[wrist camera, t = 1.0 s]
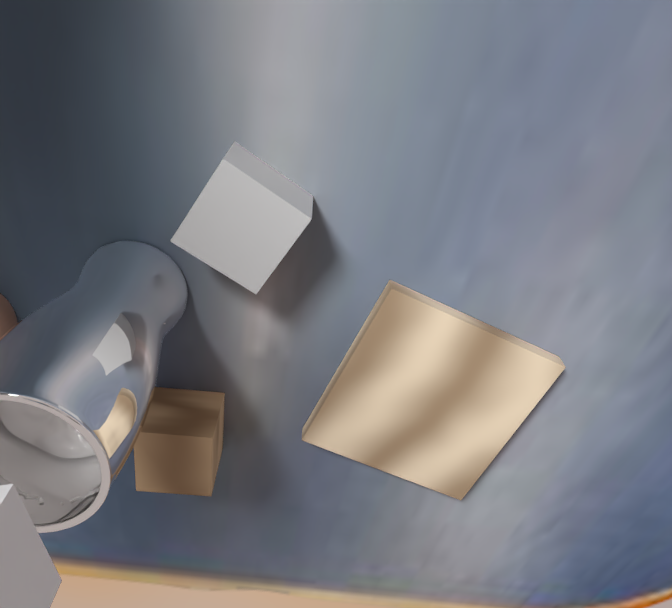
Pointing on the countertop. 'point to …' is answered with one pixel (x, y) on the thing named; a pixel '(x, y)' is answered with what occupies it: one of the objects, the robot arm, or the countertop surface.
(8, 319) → the peach rounded capsule
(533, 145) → the countertop surface
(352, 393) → the beech board
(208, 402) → the oak cube
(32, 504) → the silver metal cup
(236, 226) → the grey plastic box
